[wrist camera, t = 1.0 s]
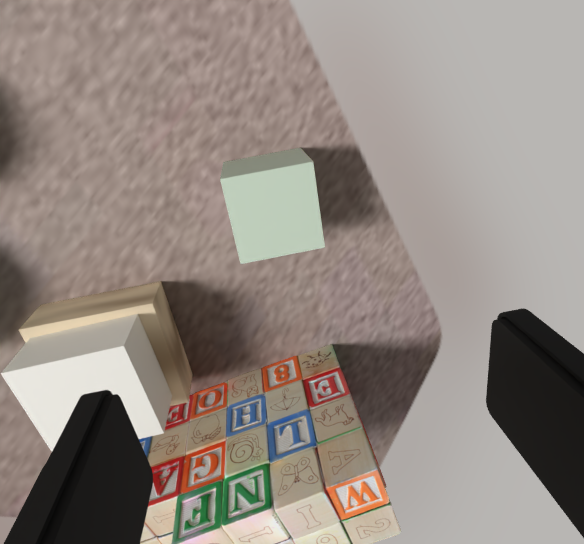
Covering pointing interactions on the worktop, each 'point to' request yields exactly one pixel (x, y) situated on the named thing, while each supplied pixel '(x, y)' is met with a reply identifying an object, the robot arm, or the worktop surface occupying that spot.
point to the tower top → (90, 375)
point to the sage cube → (272, 204)
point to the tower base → (120, 304)
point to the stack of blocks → (268, 463)
